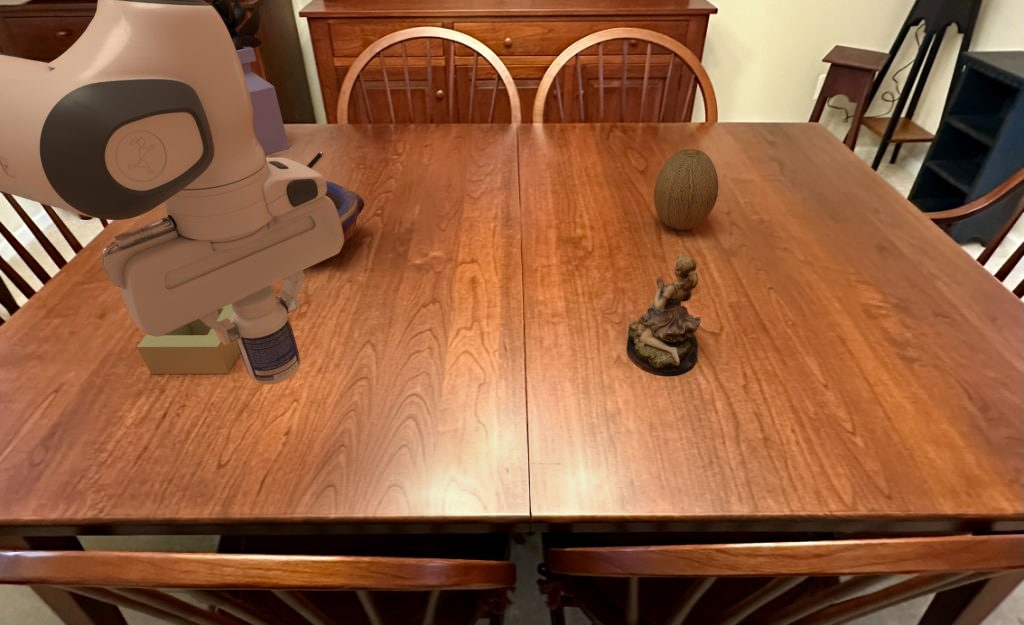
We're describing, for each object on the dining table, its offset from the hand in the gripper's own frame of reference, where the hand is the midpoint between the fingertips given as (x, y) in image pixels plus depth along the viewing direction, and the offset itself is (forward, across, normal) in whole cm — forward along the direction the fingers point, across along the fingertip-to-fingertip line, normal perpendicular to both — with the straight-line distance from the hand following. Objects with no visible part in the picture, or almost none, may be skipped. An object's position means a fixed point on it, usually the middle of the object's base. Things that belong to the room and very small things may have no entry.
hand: (261, 323), depth 61 cm
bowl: (+19, +27, +39) cm, 51 cm away
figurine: (+19, +45, -22) cm, 54 cm away
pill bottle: (+6, 0, 0) cm, 6 cm away
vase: (+19, +44, +88) cm, 101 cm away
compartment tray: (+19, +4, +30) cm, 36 cm away
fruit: (+19, +78, -6) cm, 81 cm away
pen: (+19, +45, +69) cm, 84 cm away
